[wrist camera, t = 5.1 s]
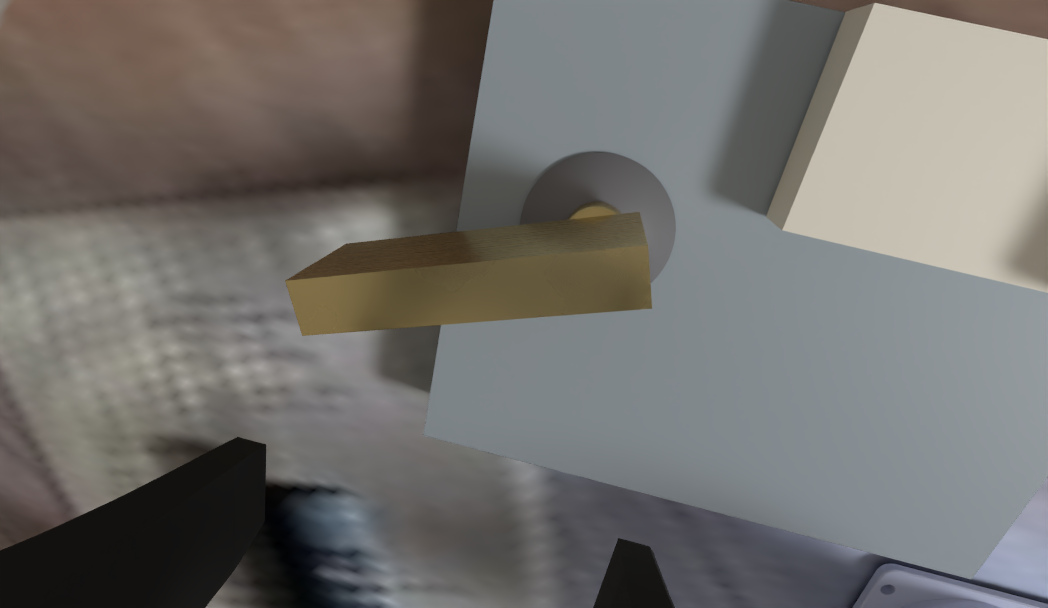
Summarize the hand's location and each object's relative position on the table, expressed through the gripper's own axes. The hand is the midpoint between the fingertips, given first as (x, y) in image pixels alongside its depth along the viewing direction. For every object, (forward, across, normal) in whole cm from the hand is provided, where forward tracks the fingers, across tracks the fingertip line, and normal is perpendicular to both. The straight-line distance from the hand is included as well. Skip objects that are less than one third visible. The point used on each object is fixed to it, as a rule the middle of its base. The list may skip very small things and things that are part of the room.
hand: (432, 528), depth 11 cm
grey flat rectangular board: (+10, -7, -4) cm, 13 cm away
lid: (+7, -11, -9) cm, 15 cm away
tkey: (+7, +1, -4) cm, 8 cm away
